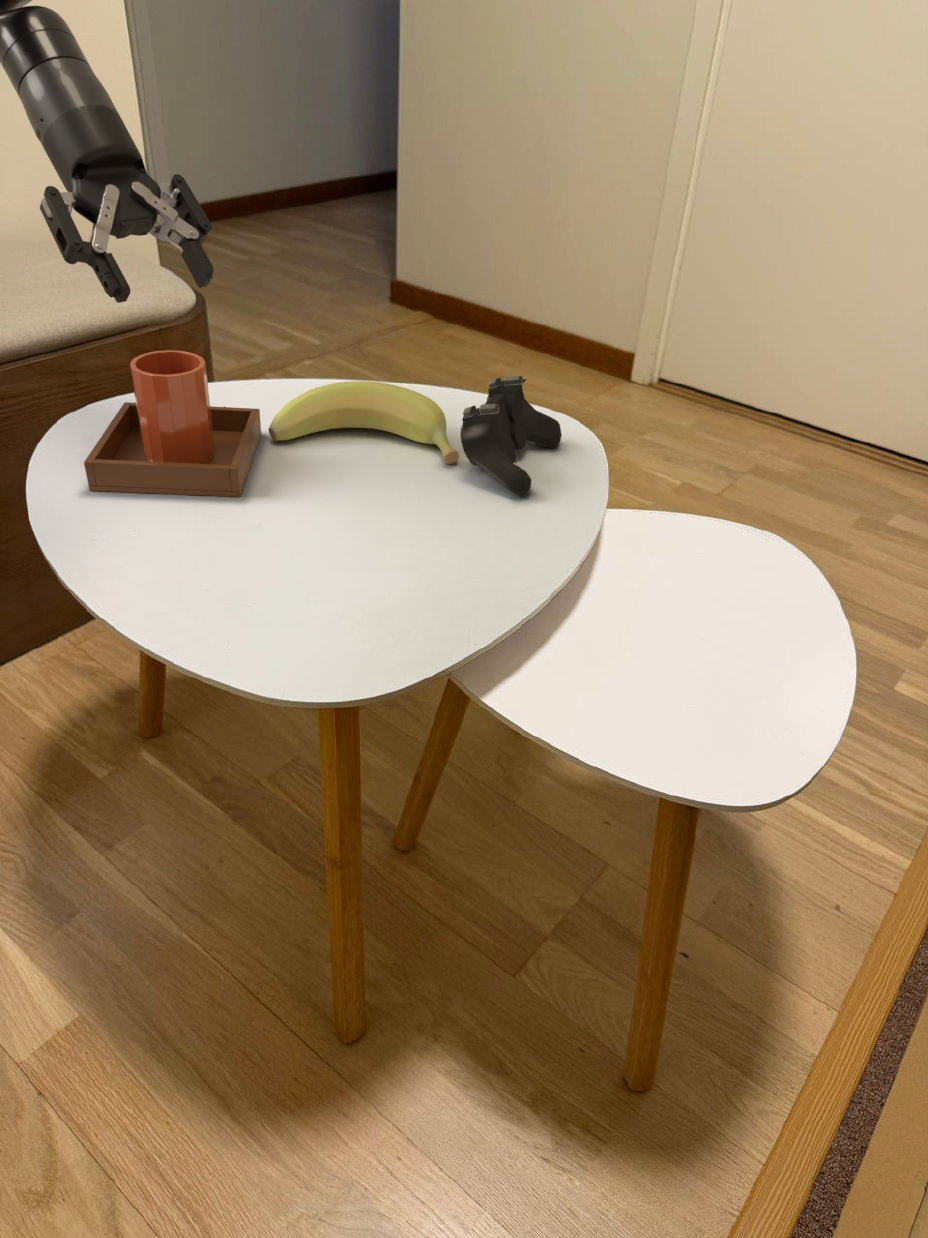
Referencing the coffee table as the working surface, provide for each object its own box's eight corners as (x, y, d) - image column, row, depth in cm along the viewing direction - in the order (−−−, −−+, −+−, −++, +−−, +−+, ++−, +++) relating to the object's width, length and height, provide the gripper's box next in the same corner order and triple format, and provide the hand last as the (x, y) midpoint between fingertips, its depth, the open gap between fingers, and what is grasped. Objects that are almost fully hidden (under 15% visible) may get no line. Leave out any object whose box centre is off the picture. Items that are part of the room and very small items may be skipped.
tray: (89, 490, 87) (83, 462, 86) (128, 428, 99) (124, 401, 97) (240, 497, 88) (237, 469, 87) (261, 434, 100) (259, 408, 98)
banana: (334, 347, 103) (484, 410, 98) (337, 386, 108) (481, 448, 102) (260, 412, 96) (417, 484, 90) (267, 450, 100) (417, 521, 95)
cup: (137, 469, 90) (121, 374, 85) (154, 439, 96) (140, 348, 90) (207, 472, 91) (196, 377, 85) (220, 442, 97) (210, 352, 91)
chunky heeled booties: (515, 452, 107) (484, 374, 103) (568, 438, 104) (538, 356, 99) (472, 513, 94) (435, 427, 90) (530, 499, 91) (494, 408, 87)
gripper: (10, 104, 74) (106, 279, 75) (162, 98, 83) (246, 255, 84) (-4, 163, 80) (85, 325, 81) (140, 152, 89) (218, 298, 90)
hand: (167, 289), depth 82 cm, fingers open, 8 cm apart
